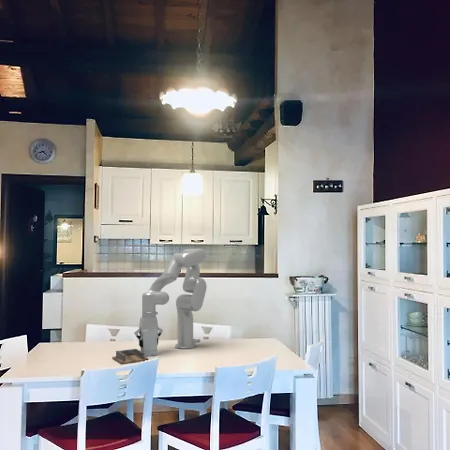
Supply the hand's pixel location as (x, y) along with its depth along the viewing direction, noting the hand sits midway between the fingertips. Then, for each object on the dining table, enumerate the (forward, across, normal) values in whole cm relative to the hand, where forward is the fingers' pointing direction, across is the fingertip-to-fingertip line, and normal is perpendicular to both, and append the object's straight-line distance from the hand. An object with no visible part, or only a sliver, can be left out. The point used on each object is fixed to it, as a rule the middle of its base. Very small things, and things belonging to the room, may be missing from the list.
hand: (148, 345), depth 255 cm
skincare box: (+5, 0, 0) cm, 5 cm away
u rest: (+5, +12, +4) cm, 14 cm away
